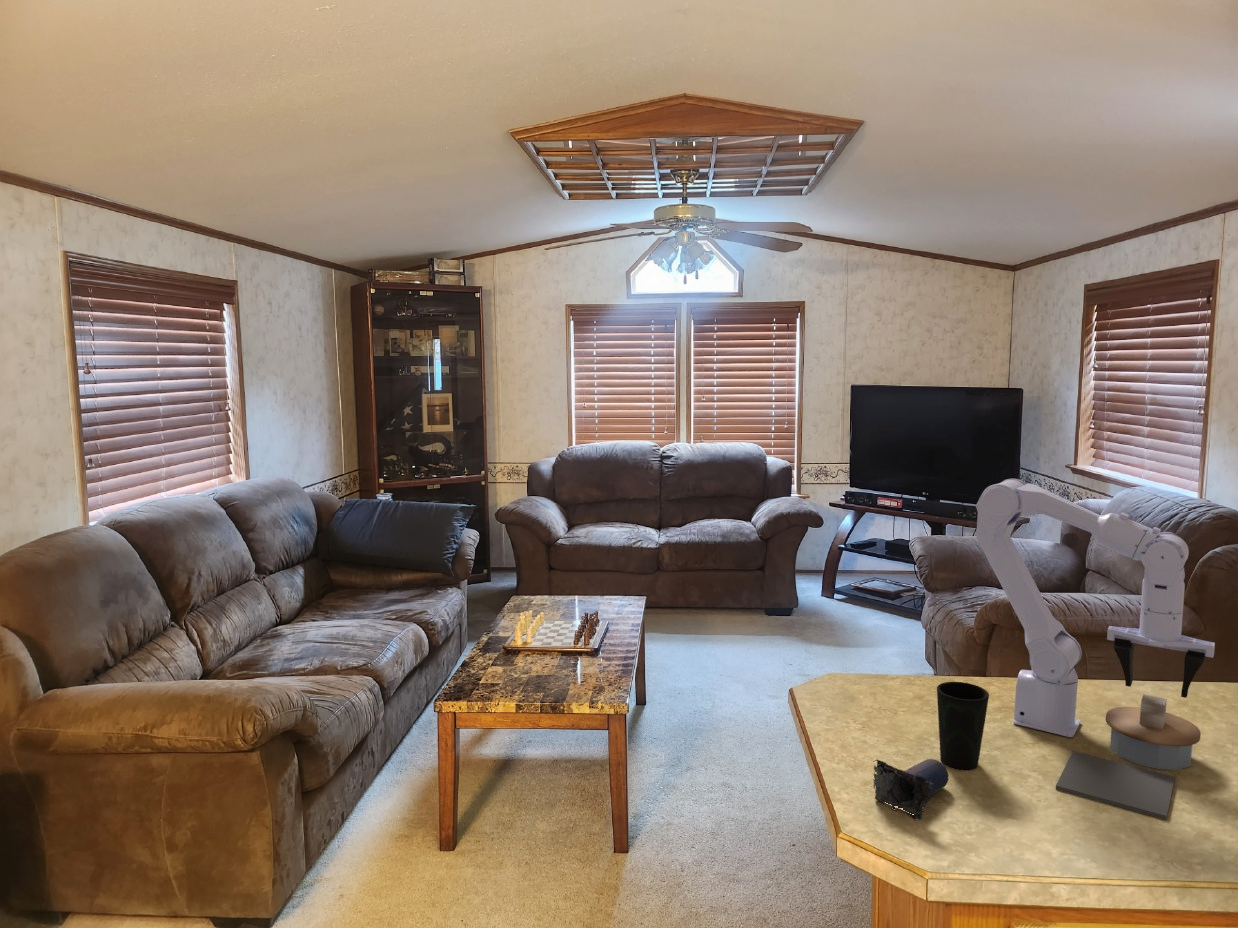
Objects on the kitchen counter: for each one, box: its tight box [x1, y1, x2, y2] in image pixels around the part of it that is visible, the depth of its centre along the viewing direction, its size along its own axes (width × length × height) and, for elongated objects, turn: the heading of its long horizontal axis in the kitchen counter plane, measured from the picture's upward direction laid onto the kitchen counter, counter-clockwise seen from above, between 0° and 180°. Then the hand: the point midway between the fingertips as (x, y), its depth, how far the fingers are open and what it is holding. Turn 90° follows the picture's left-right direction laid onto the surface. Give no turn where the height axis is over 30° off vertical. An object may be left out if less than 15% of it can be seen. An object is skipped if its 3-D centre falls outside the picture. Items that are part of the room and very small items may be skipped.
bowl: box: [1109, 727, 1193, 771], centre depth 137 cm, size 11×11×4 cm
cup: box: [936, 681, 990, 772], centre depth 134 cm, size 8×8×12 cm
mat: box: [1055, 750, 1176, 821], centre depth 128 cm, size 14×14×1 cm
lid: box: [1105, 694, 1202, 746], centre depth 136 cm, size 13×13×5 cm
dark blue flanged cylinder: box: [872, 758, 949, 820], centre depth 124 cm, size 9×8×12 cm
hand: (1156, 689), depth 137 cm, fingers open, 7 cm apart
